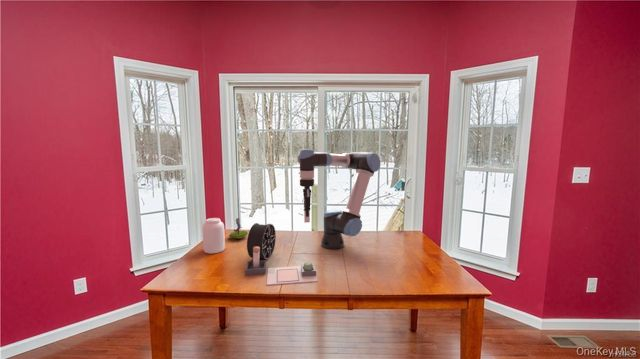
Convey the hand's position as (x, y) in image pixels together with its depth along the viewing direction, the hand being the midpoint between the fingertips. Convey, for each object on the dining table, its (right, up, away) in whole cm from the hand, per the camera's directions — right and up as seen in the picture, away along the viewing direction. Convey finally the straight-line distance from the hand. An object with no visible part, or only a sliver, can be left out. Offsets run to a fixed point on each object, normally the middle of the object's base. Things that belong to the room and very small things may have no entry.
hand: (307, 222), depth 144 cm
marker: (-27, -24, -3) cm, 36 cm away
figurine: (-51, -19, +46) cm, 71 cm away
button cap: (+1, -24, -7) cm, 25 cm away
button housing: (+1, -25, -7) cm, 26 cm away
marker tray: (-26, -25, -3) cm, 36 cm away
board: (-7, -26, -8) cm, 28 cm away
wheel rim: (-27, -23, +14) cm, 38 cm away
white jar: (-59, -22, +24) cm, 67 cm away
